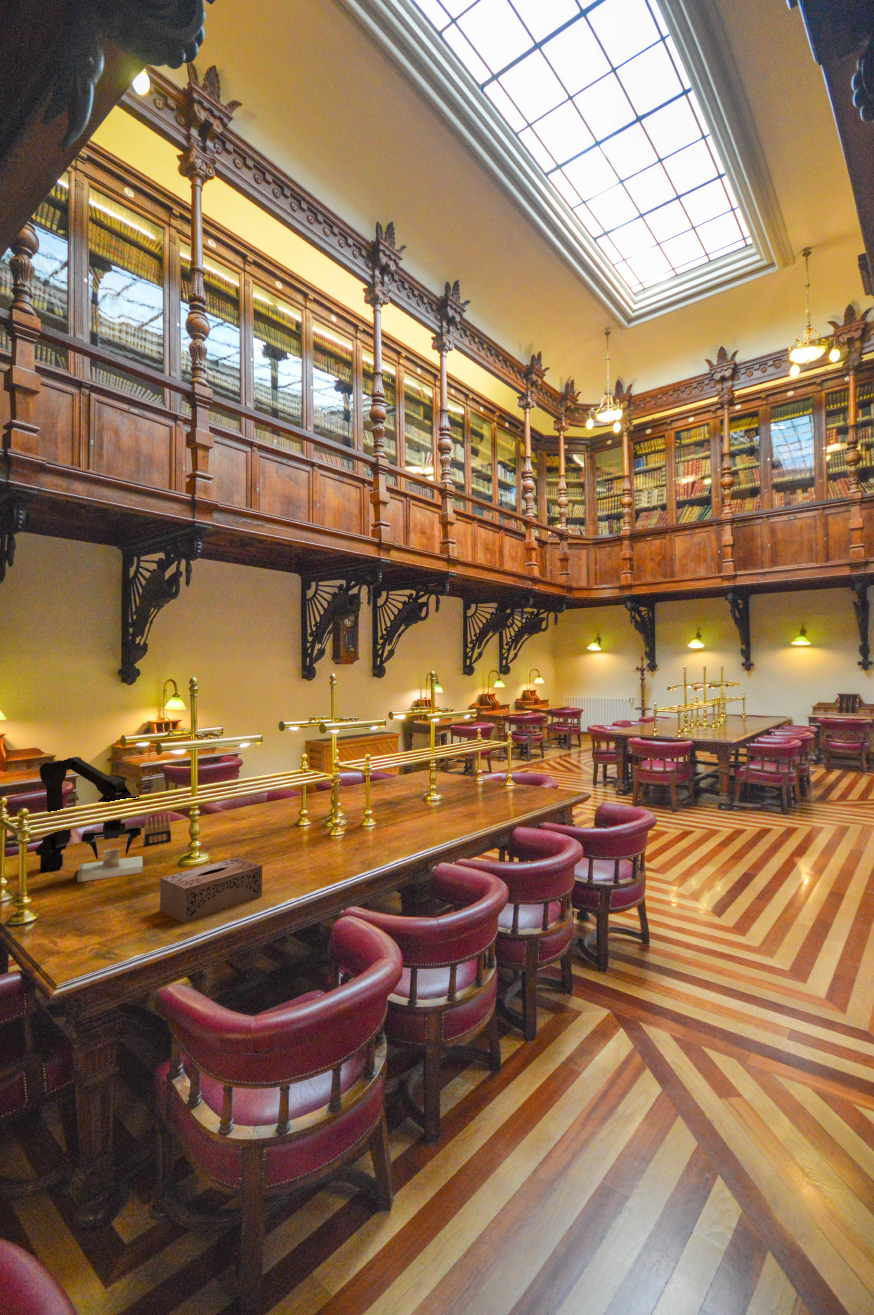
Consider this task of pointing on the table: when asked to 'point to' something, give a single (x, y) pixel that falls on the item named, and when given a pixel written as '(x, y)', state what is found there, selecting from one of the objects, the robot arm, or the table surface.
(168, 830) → the ammunition clip
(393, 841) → the table surface
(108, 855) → the maple block
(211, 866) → the tissue box cover
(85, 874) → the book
